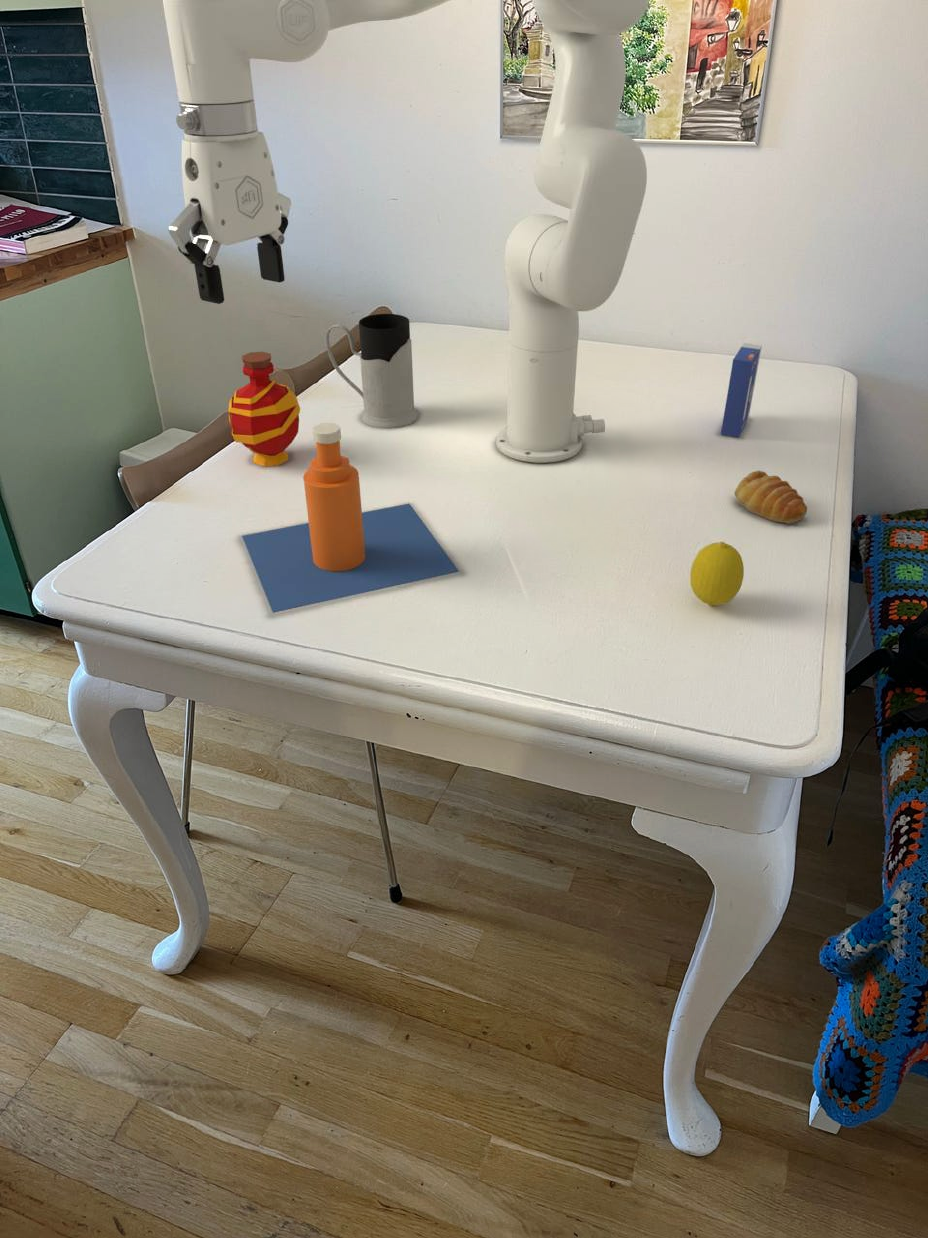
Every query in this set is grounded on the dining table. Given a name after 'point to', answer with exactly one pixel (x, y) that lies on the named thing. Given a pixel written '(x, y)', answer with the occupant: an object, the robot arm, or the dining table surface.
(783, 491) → the pastry
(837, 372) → the dining table surface
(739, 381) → the walkman
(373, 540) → the cloth
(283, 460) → the potion bottle
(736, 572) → the lemon
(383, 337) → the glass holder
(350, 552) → the bottle
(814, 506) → the dining table surface
